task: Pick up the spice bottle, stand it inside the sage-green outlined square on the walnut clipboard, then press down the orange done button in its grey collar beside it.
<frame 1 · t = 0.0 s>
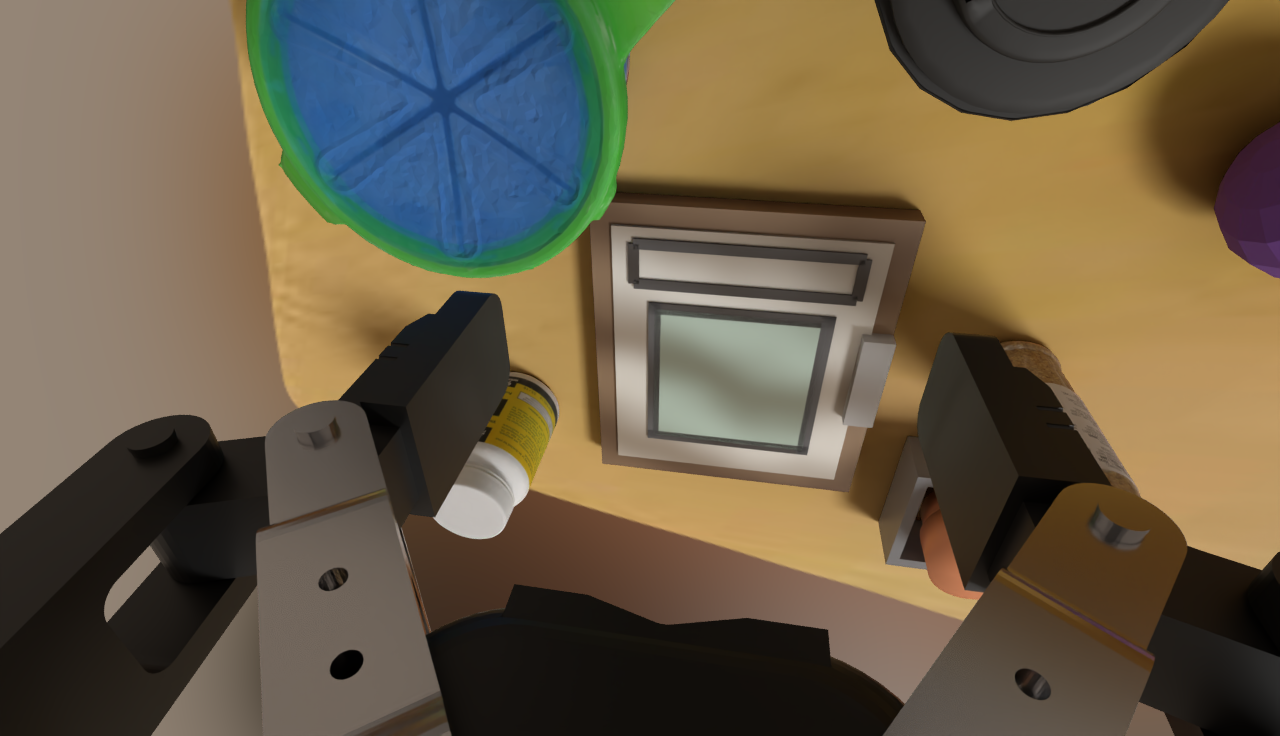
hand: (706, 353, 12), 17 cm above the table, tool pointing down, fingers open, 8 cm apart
spice bottle: (1005, 372, 31), on the table
supplement bottle: (522, 399, 37), on the table
colouring board: (735, 350, 32), on the table
done button: (972, 538, 33), point 3 cm above the table, slide at 0.0 cm
snack cup: (540, 40, 25), on the table
button collar: (957, 489, 35), on the table
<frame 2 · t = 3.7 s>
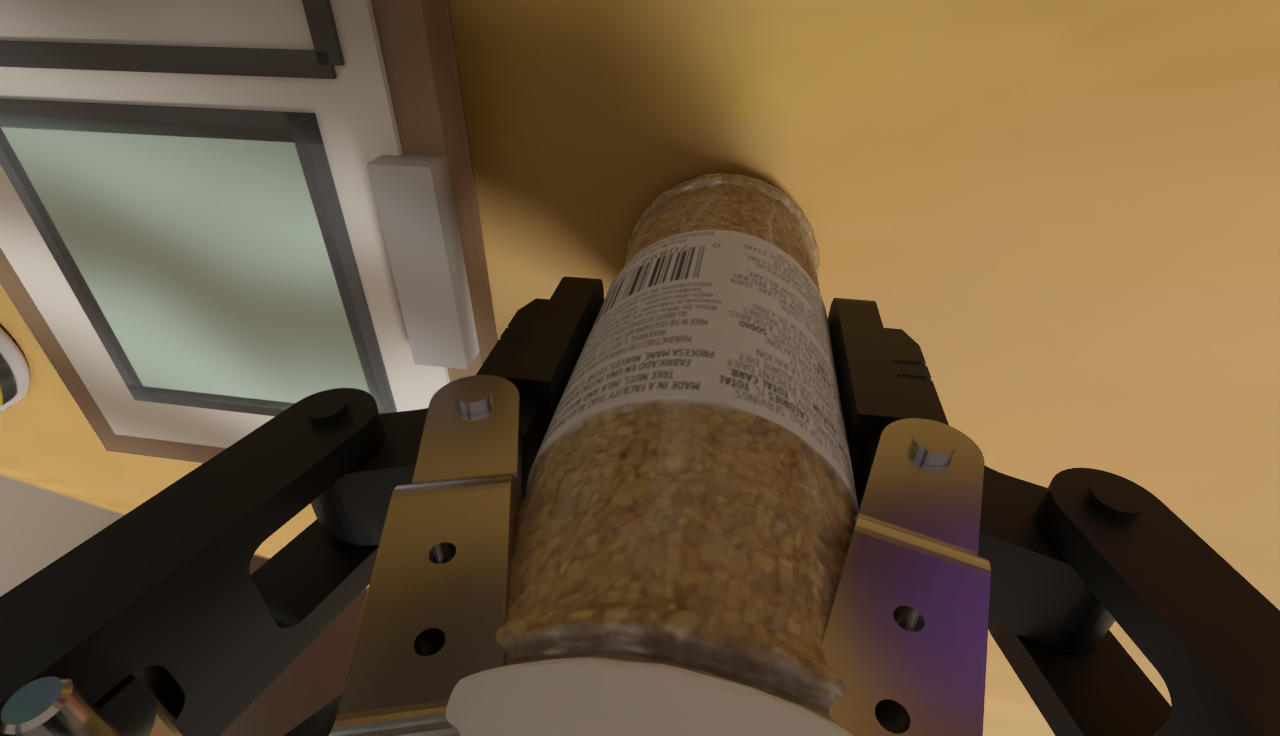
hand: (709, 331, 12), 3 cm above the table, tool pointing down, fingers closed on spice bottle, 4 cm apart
spice bottle: (723, 256, 15), on the table, touching gripper
colouring board: (232, 225, 17), on the table
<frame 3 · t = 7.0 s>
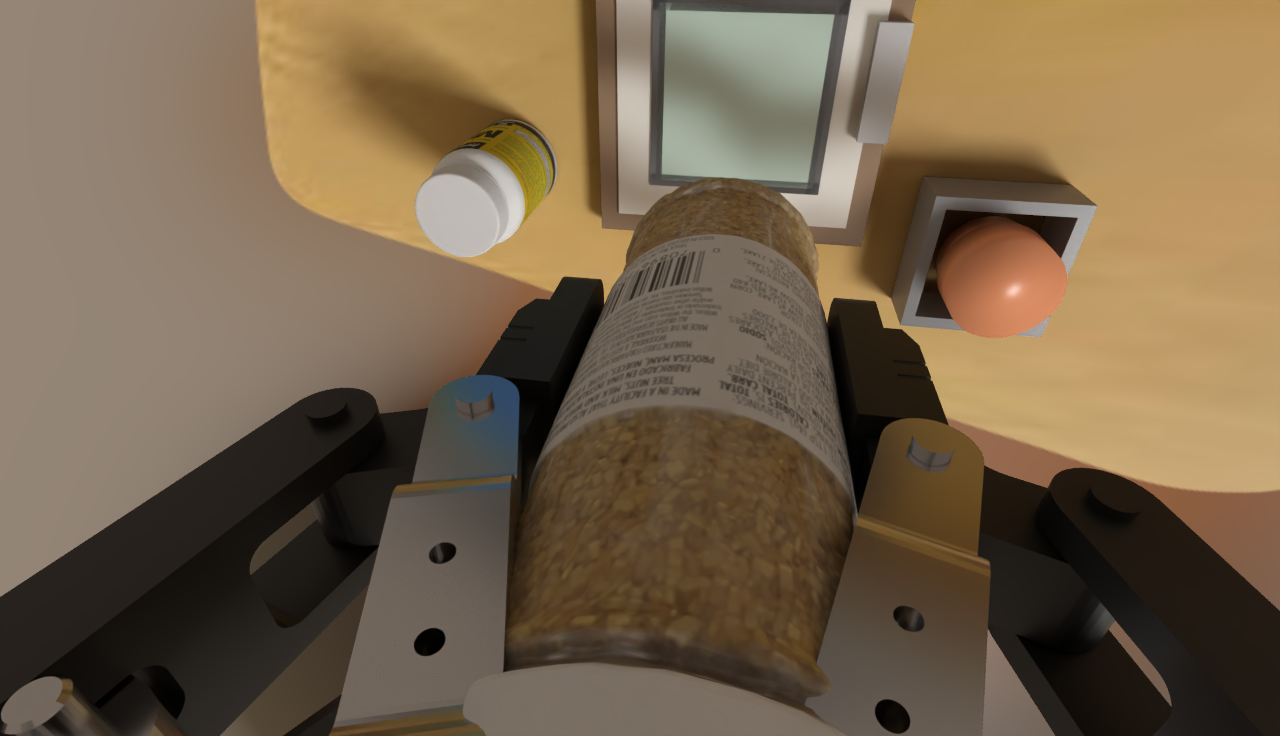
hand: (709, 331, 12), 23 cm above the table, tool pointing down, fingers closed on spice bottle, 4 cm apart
spice bottle: (723, 260, 15), point 20 cm above the table, touching gripper
supplement bottle: (518, 161, 35), on the table
colouring board: (743, 72, 31), on the table
done button: (993, 273, 31), point 3 cm above the table, slide at 0.0 cm
button collar: (974, 245, 34), on the table
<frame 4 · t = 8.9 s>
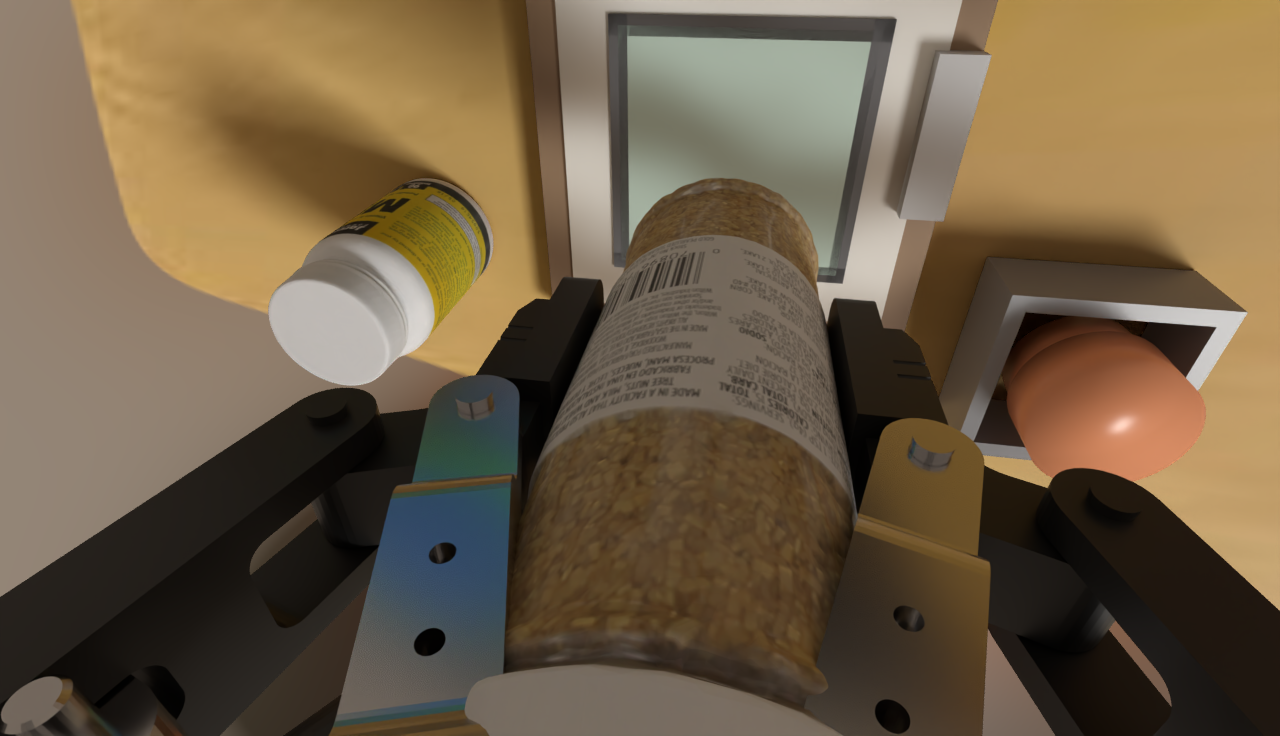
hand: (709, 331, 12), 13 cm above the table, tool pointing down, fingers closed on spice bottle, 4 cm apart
spice bottle: (722, 260, 15), point 9 cm above the table, touching gripper
supplement bottle: (443, 229, 27), on the table
colouring board: (739, 119, 22), on the table
done button: (1088, 396, 22), point 3 cm above the table, slide at 0.0 cm
button collar: (1053, 344, 25), on the table
when the fingers open (6 cm above the table, at t = 10.6 s): spice bottle drops 1 cm, resting on colouring board.
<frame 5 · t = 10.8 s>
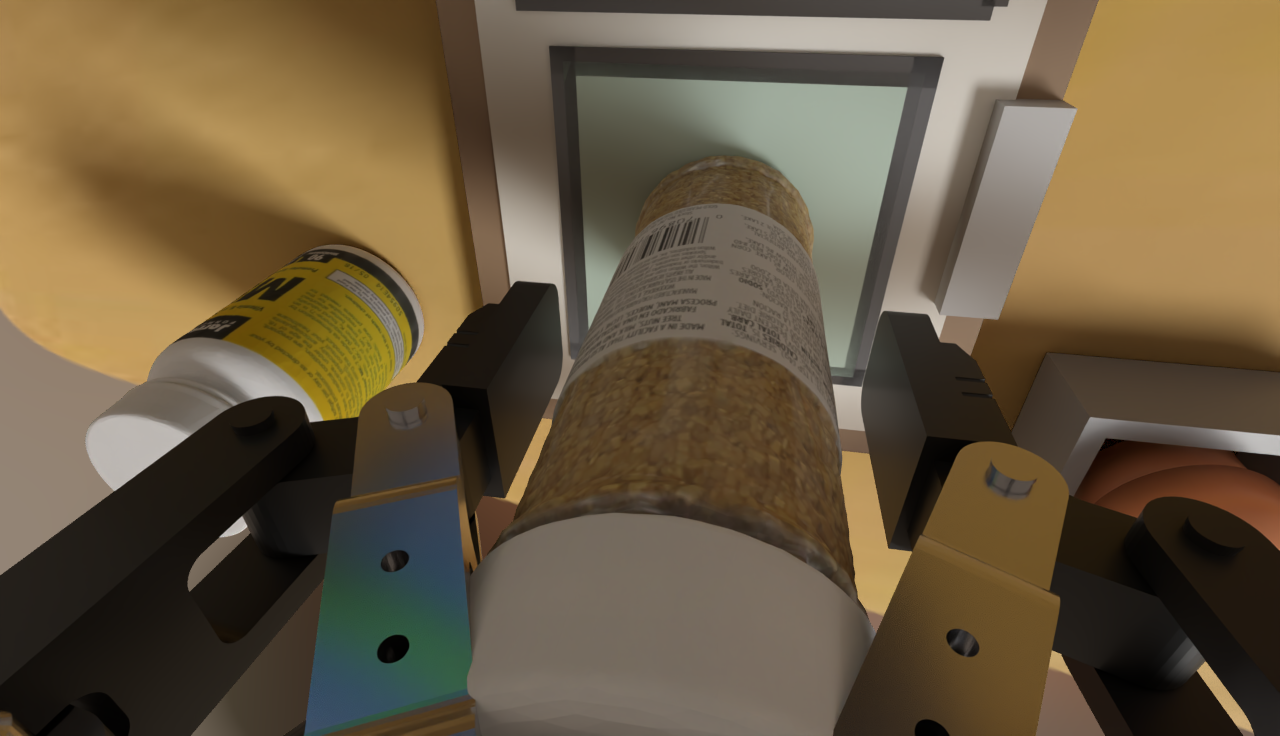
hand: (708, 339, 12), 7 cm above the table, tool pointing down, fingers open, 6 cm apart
spice bottle: (725, 234, 16), point 1 cm above the table, touching colouring board
supplement bottle: (363, 303, 22), on the table
colouring board: (729, 179, 17), on the table
done button: (1183, 541, 17), point 3 cm above the table, slide at 0.0 cm
button collar: (1125, 456, 20), on the table
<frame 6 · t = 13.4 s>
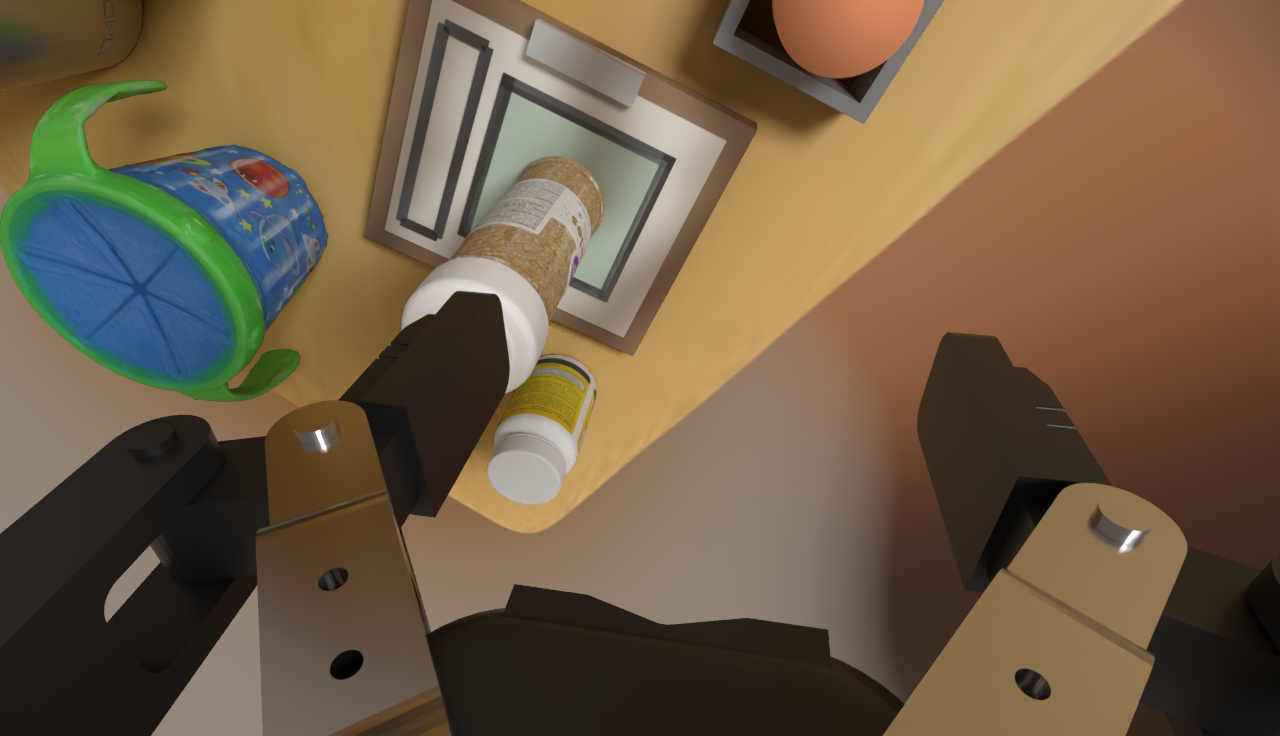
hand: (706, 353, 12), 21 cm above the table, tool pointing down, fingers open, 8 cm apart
spice bottle: (561, 197, 31), point 1 cm above the table, touching colouring board
supplement bottle: (561, 381, 40), on the table
colouring board: (548, 180, 32), on the table
snack cup: (269, 209, 36), on the table
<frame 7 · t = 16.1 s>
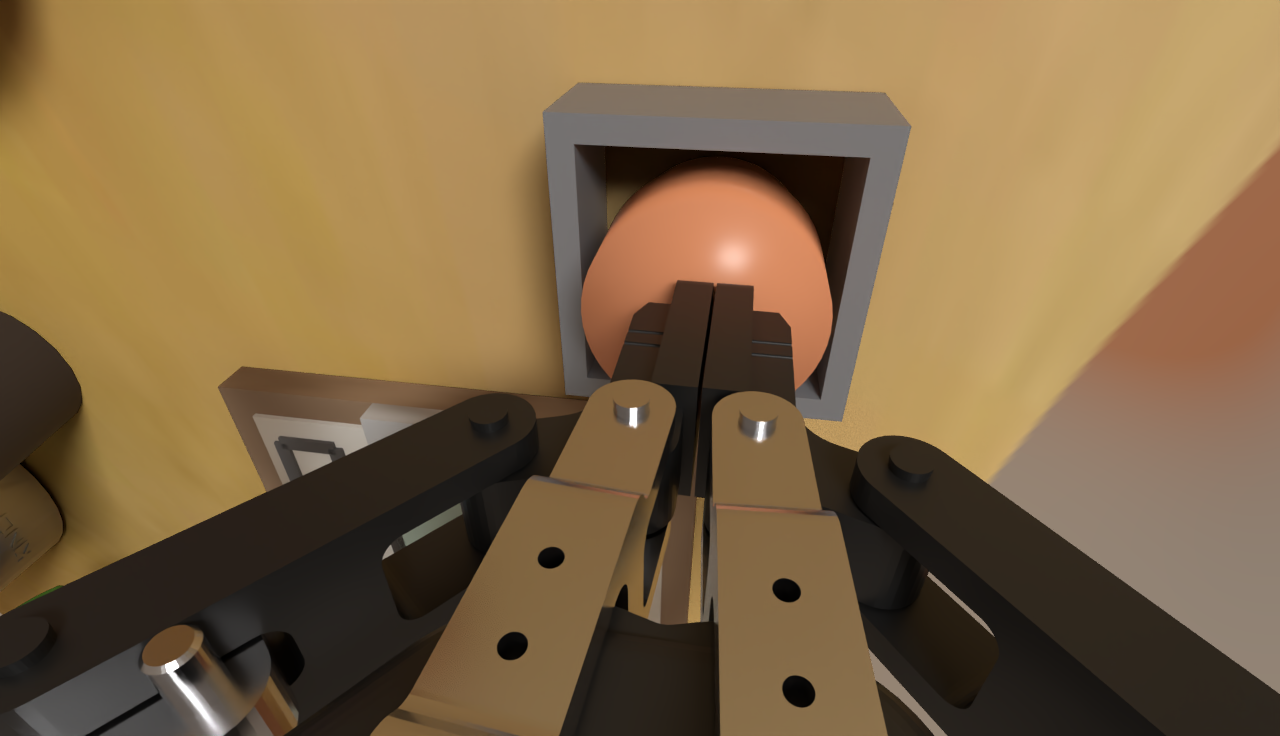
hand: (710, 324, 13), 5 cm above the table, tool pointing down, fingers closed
colouring board: (489, 531, 25), on the table
done button: (709, 279, 14), point 3 cm above the table, slide at 0.6 cm, touching gripper
coffee cup: (15, 361, 24), on the table
button collar: (716, 231, 16), on the table
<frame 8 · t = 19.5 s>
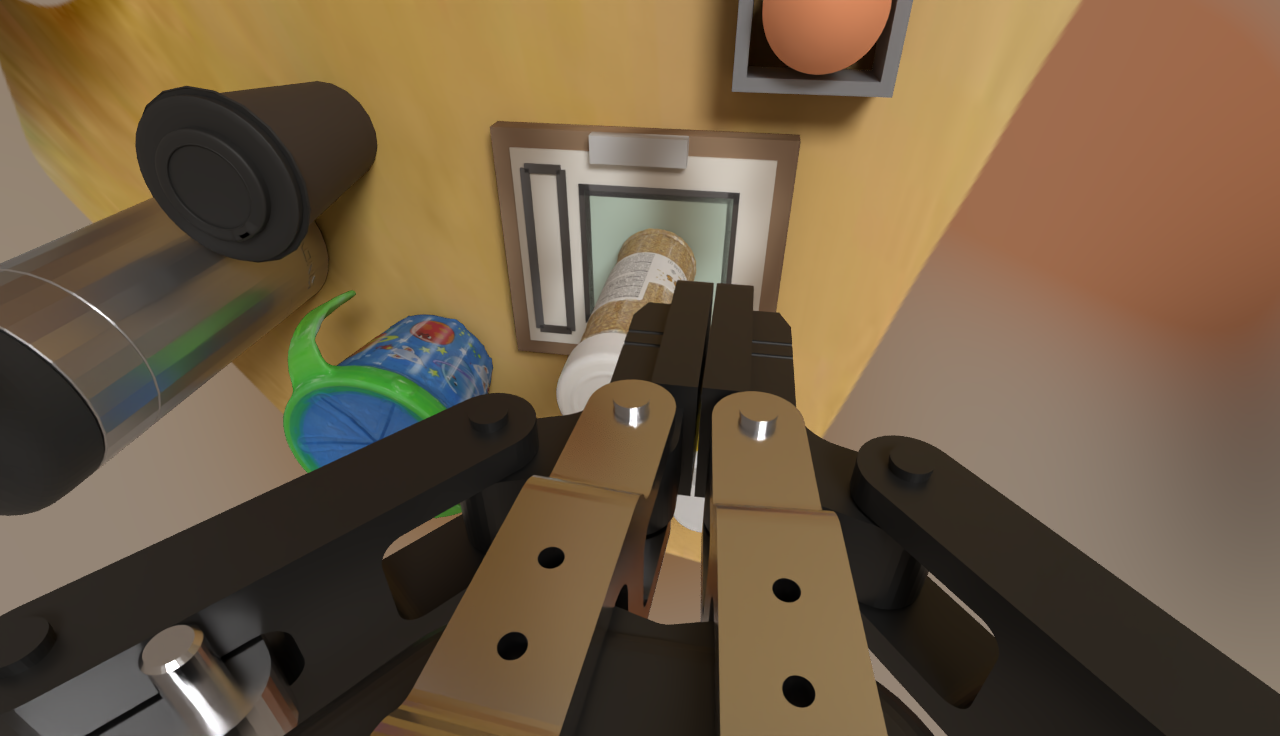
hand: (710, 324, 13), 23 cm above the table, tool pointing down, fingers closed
spice bottle: (657, 261, 36), point 1 cm above the table, touching colouring board
supplement bottle: (714, 417, 43), on the table
colouring board: (643, 251, 37), on the table
done button: (822, 2, 27), point 2 cm above the table, slide at 1.2 cm
snack cup: (445, 355, 44), on the table
coffee cup: (334, 130, 36), on the table
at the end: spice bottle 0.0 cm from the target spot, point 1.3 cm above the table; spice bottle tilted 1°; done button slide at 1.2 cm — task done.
